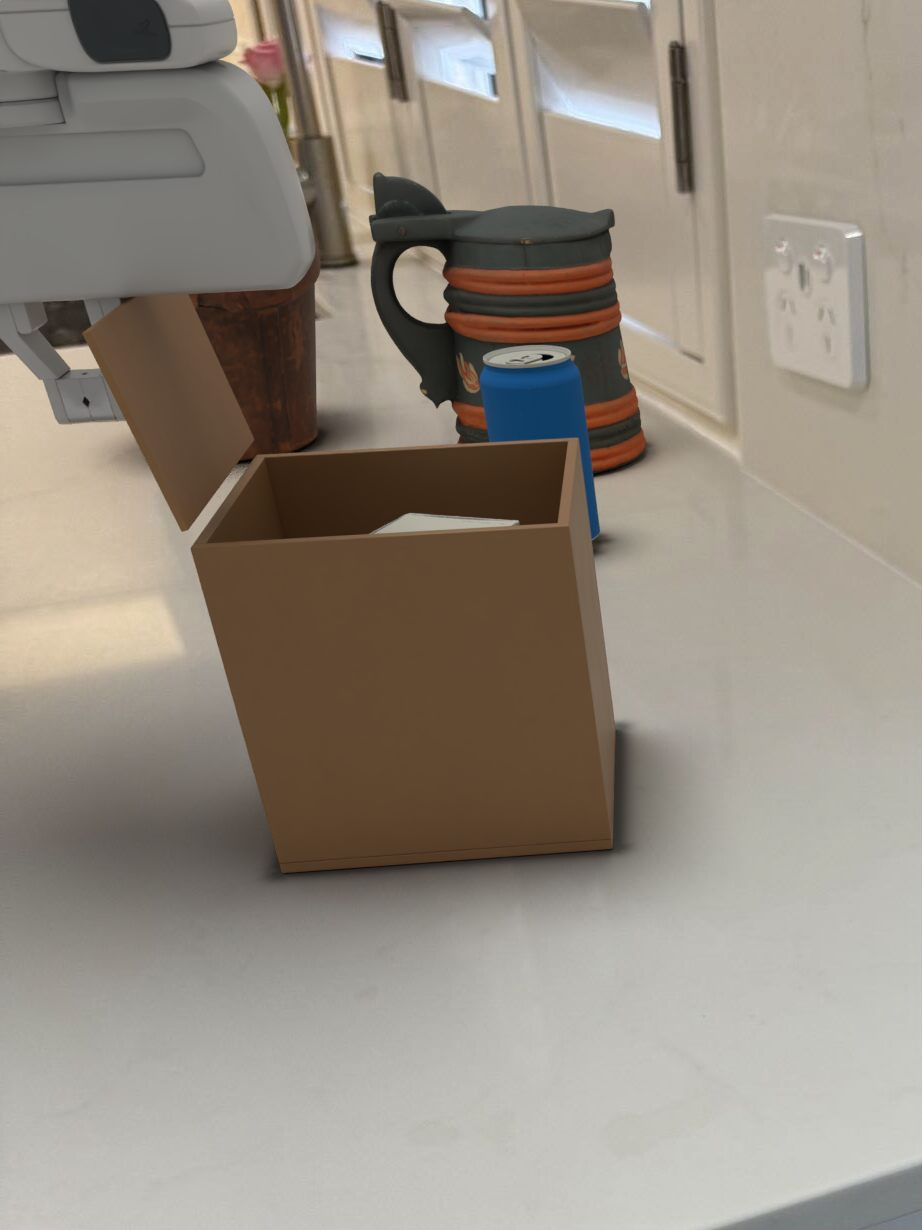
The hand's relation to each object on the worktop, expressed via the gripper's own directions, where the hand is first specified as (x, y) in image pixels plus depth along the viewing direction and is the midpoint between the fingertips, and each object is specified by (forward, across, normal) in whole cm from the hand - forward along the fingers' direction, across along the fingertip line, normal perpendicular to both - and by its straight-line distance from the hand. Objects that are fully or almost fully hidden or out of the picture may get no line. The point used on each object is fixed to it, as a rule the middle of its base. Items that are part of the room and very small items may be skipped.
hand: (99, 420), depth 66 cm
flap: (-1, +4, 0) cm, 4 cm away
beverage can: (+18, +15, +39) cm, 45 cm away
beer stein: (+18, +12, +62) cm, 66 cm away
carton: (+18, +12, 0) cm, 21 cm away
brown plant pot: (+18, -12, +72) cm, 75 cm away
